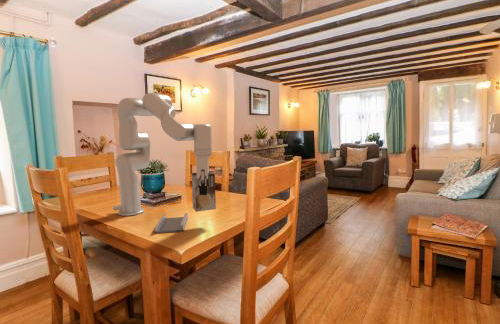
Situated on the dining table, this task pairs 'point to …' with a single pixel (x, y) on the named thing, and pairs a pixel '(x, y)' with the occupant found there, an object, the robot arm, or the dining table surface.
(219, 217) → the dining table surface
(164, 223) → the floor track
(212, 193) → the coffee box
